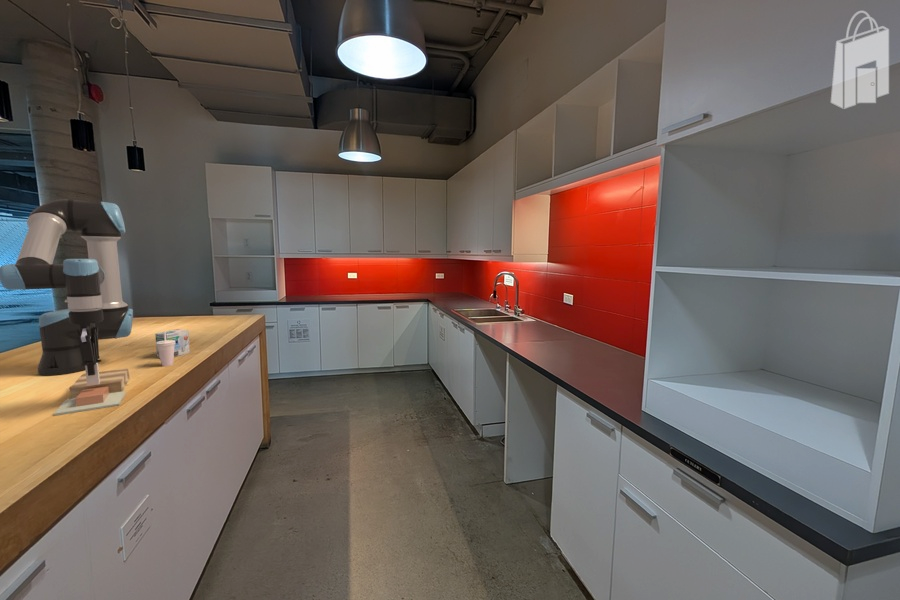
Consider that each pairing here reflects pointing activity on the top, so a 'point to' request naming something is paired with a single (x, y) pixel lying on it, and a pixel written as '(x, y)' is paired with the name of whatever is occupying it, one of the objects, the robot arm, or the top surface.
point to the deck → (102, 382)
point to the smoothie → (166, 351)
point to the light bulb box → (176, 341)
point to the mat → (70, 404)
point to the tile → (92, 396)
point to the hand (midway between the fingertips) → (93, 384)
